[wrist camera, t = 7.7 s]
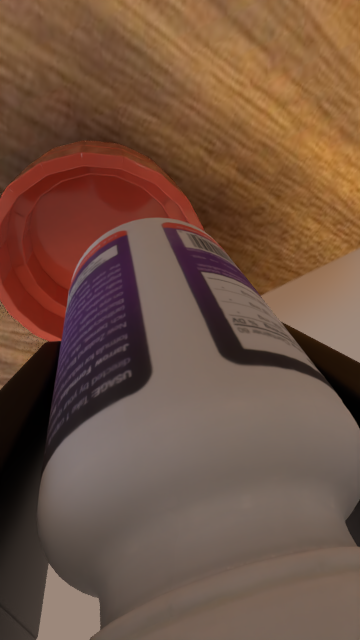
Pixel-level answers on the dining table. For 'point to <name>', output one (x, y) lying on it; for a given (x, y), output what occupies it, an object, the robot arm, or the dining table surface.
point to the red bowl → (73, 222)
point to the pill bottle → (195, 453)
